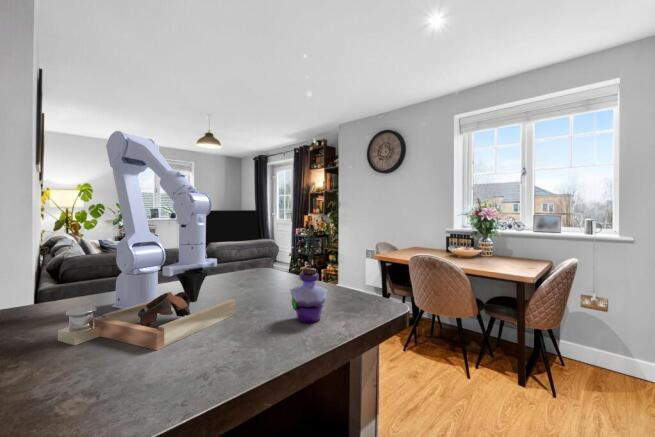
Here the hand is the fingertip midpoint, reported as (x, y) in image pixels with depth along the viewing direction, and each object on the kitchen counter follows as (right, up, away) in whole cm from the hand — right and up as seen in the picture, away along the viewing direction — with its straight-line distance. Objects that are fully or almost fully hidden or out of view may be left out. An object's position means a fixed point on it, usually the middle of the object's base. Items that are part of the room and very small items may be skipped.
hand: (191, 301), depth 73 cm
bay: (-2, -3, -4) cm, 6 cm away
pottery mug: (-1, -4, -7) cm, 8 cm away
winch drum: (-15, -3, -14) cm, 21 cm away
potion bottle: (+28, -4, -1) cm, 28 cm away
